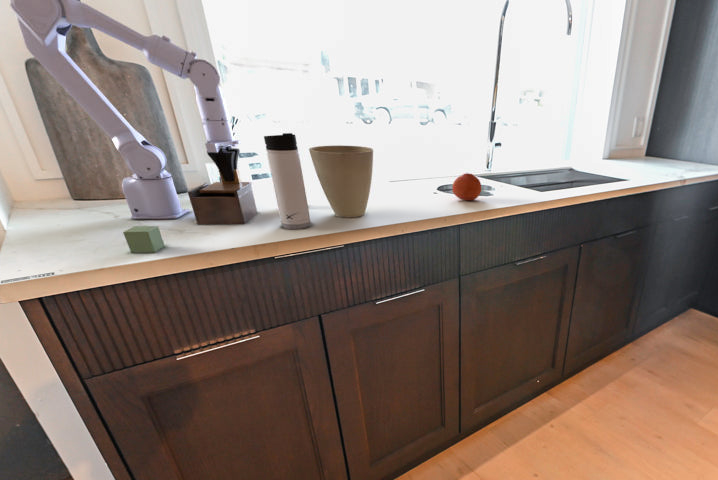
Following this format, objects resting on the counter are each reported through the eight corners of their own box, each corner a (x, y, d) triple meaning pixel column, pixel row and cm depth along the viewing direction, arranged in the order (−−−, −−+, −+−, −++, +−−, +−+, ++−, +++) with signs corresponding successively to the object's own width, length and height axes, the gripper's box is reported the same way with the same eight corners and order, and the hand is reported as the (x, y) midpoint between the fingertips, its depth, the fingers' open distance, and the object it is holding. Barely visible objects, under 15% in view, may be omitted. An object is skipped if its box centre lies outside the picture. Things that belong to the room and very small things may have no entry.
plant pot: (309, 212, 111) (297, 146, 103) (360, 205, 121) (353, 144, 113) (338, 224, 102) (328, 153, 95) (390, 215, 112) (385, 150, 104)
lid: (199, 192, 98) (194, 175, 96) (216, 184, 107) (212, 168, 106) (238, 192, 100) (234, 175, 98) (251, 184, 109) (248, 168, 107)
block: (131, 253, 80) (122, 232, 78) (141, 246, 83) (133, 226, 81) (155, 252, 80) (147, 231, 78) (164, 246, 84) (157, 225, 82)
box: (197, 224, 98) (187, 191, 94) (214, 213, 107) (205, 182, 104) (245, 223, 100) (237, 191, 96) (257, 212, 109) (250, 183, 106)
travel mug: (294, 231, 96) (275, 134, 86) (276, 226, 99) (256, 131, 89) (317, 225, 101) (302, 133, 91) (300, 221, 104) (283, 130, 94)
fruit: (467, 195, 139) (467, 169, 135) (486, 200, 134) (487, 173, 130) (446, 199, 133) (445, 172, 129) (465, 204, 128) (465, 176, 124)
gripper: (224, 122, 95) (239, 185, 101) (243, 119, 107) (256, 175, 113) (188, 121, 93) (206, 185, 100) (212, 118, 105) (227, 175, 112)
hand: (231, 180), depth 106 cm, fingers closed on lid
